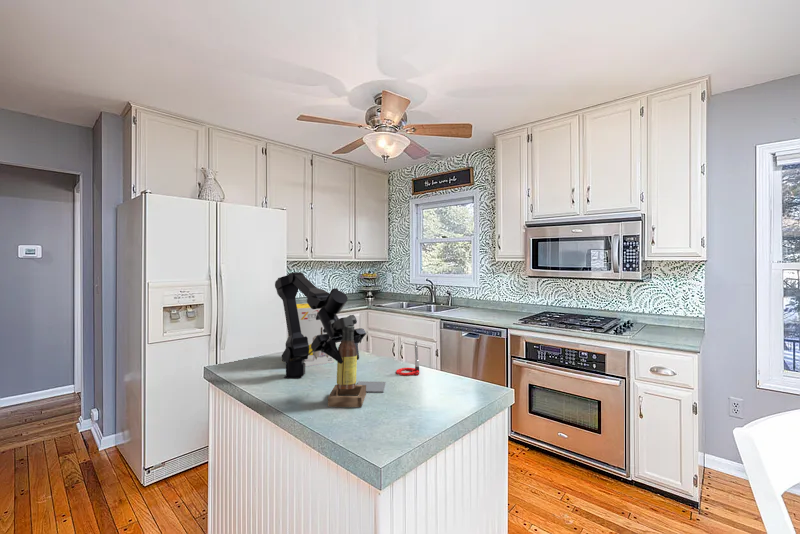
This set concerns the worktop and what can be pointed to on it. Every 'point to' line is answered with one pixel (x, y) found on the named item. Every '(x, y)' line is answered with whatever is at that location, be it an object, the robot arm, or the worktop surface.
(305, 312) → the packaging box
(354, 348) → the sauce bottle
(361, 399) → the holder frame
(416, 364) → the tow hook
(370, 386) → the slate tile
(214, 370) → the worktop surface
